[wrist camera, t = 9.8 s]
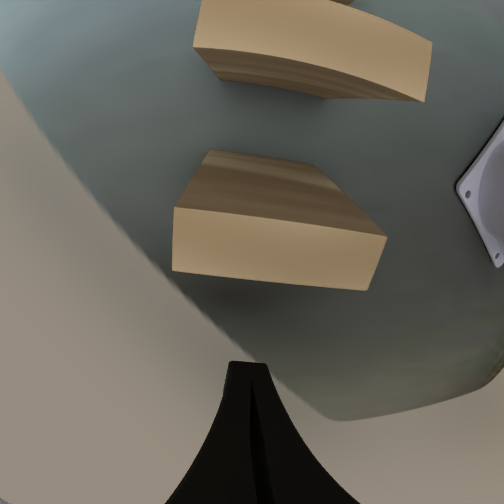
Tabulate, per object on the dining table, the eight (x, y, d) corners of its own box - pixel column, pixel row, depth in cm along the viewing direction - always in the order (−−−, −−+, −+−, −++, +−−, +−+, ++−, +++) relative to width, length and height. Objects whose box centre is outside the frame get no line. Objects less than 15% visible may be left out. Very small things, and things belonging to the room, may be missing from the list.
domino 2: (307, 195, 14) (366, 290, 7) (206, 181, 14) (172, 270, 7) (313, 165, 14) (387, 236, 7) (210, 149, 13) (174, 207, 6)
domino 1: (327, 98, 12) (424, 102, 5) (220, 79, 11) (192, 47, 4) (332, 68, 11) (432, 42, 4) (225, 48, 11) (206, -19, 4)
